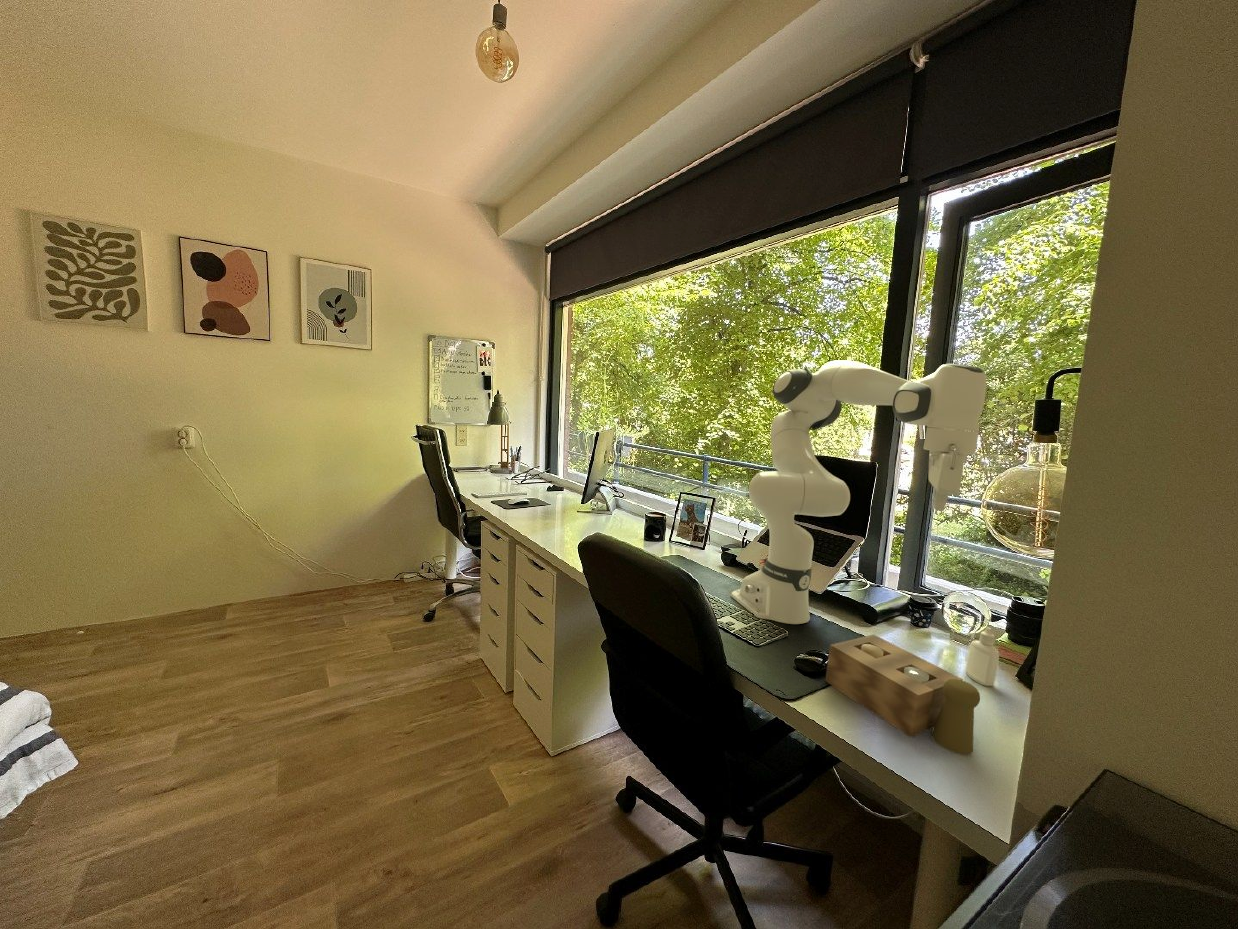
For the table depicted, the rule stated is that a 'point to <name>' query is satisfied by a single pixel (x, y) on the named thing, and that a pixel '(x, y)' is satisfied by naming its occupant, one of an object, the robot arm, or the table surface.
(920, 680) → the grey metal peg
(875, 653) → the beech peg
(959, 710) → the cork
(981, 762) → the table surface
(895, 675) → the socket block
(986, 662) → the eye dropper bottle
